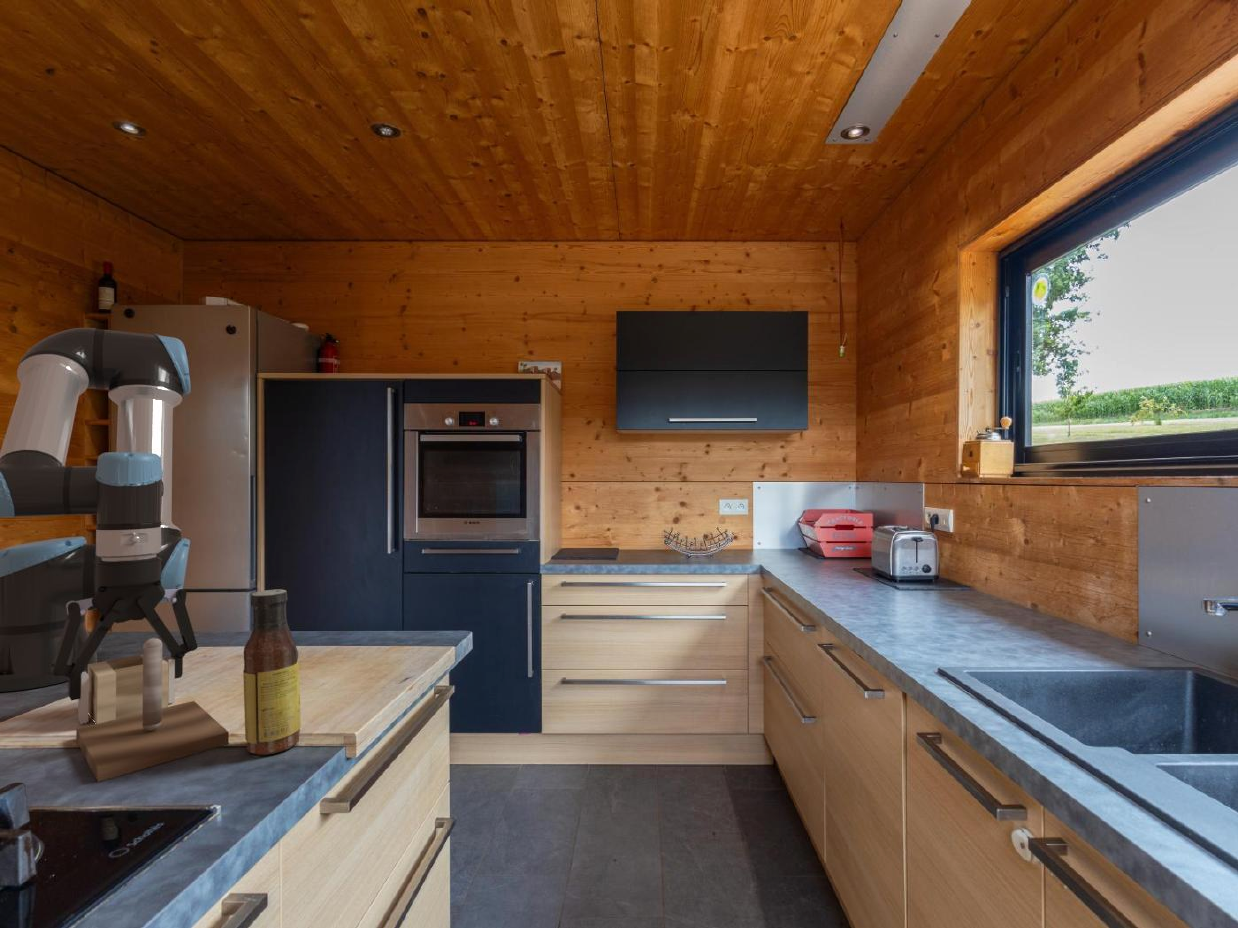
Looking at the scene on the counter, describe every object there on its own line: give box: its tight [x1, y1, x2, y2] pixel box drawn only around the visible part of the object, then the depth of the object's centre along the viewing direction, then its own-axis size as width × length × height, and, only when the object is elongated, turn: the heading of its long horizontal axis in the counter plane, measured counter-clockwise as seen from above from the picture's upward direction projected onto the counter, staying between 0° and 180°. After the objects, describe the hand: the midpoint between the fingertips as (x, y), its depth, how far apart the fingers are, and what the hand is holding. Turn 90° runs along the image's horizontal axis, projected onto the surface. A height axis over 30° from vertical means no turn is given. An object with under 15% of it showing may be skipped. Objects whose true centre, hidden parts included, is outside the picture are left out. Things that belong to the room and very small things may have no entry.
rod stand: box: [75, 637, 230, 783], centre depth 79 cm, size 16×13×14 cm
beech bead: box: [88, 653, 169, 724], centre depth 89 cm, size 8×8×7 cm
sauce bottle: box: [242, 588, 302, 756], centre depth 78 cm, size 7×6×20 cm
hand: (127, 710), depth 89 cm, fingers open, 9 cm apart
